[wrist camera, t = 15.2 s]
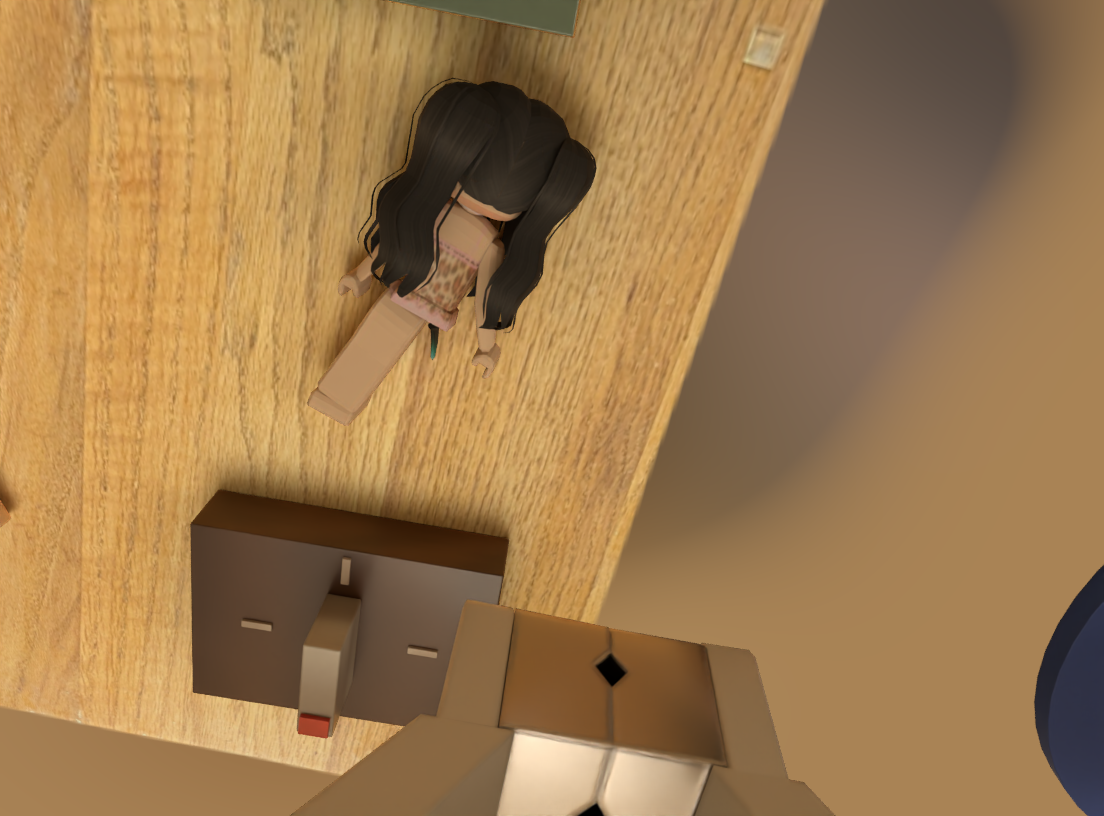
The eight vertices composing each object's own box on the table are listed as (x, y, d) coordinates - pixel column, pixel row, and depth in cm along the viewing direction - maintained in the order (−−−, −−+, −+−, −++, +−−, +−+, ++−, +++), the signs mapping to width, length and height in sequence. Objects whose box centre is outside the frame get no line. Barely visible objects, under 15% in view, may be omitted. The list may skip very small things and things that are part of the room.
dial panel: (509, 538, 38) (503, 578, 35) (480, 693, 42) (473, 740, 40) (218, 488, 38) (188, 525, 35) (217, 650, 42) (190, 695, 39)
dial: (327, 592, 36) (300, 649, 33) (362, 598, 36) (339, 655, 33) (319, 675, 38) (294, 736, 35) (352, 681, 38) (330, 742, 35)
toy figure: (457, 440, 36) (622, 138, 30) (413, 509, 31) (604, 156, 24) (319, 363, 36) (456, 41, 30) (249, 418, 30) (399, 36, 24)
